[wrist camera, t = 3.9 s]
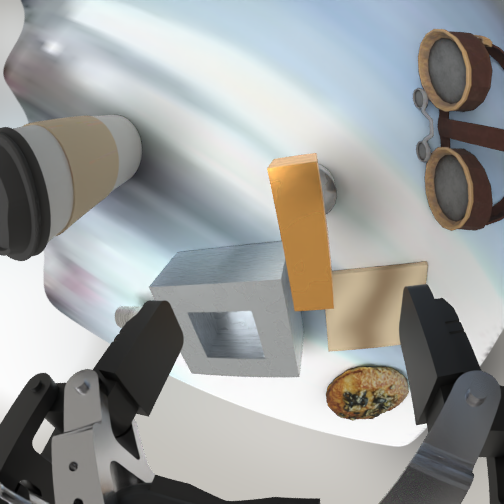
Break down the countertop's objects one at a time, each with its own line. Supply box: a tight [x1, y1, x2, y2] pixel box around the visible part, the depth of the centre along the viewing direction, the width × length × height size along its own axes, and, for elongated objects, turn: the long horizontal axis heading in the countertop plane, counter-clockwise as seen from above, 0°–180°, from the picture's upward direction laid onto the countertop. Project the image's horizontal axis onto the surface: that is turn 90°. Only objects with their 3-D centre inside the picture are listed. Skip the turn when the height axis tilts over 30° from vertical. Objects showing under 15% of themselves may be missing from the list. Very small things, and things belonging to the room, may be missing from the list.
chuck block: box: [115, 241, 304, 377], centre depth 28 cm, size 19×11×6 cm, turn 102°
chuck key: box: [267, 153, 337, 311], centre depth 19 cm, size 4×8×10 cm, turn 12°
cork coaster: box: [325, 261, 428, 351], centre depth 27 cm, size 10×10×1 cm
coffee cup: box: [0, 115, 142, 261], centre depth 18 cm, size 9×9×15 cm
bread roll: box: [326, 366, 409, 420], centre depth 32 cm, size 11×11×5 cm
